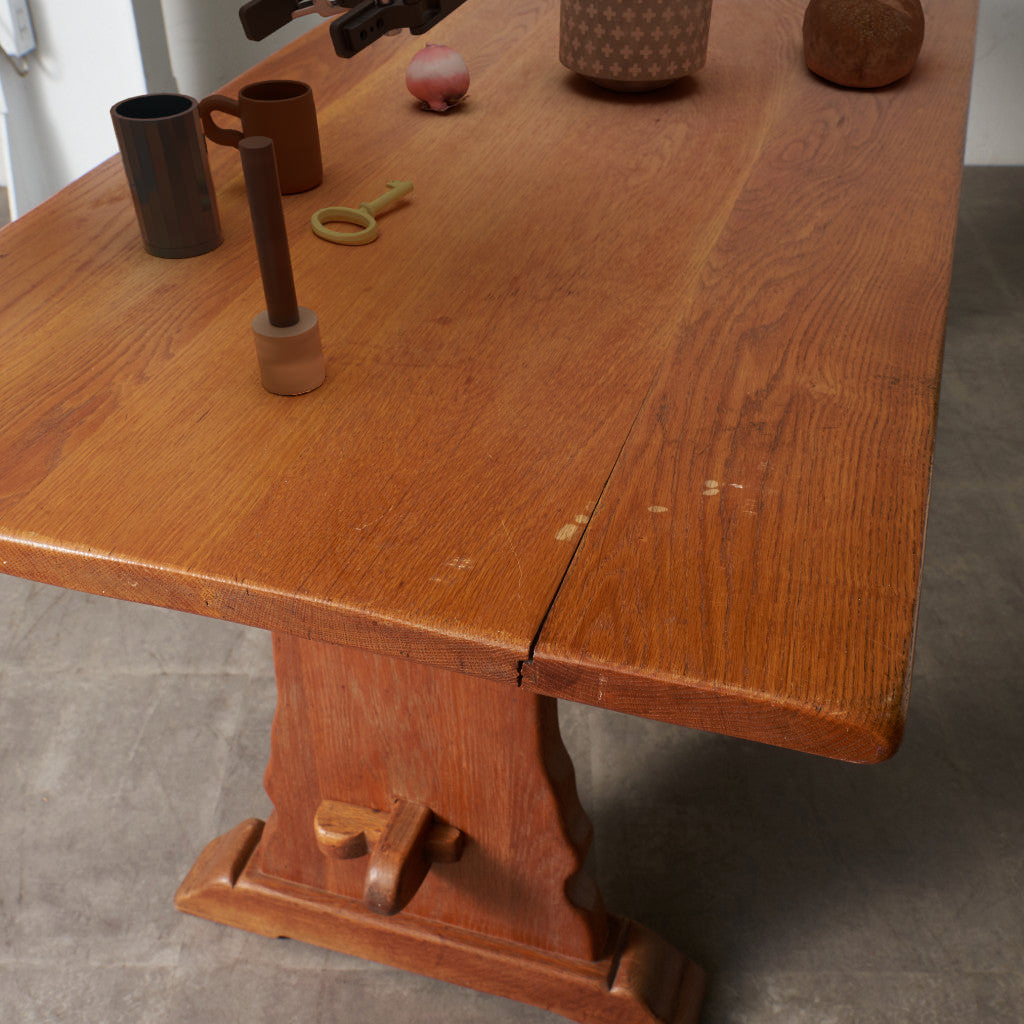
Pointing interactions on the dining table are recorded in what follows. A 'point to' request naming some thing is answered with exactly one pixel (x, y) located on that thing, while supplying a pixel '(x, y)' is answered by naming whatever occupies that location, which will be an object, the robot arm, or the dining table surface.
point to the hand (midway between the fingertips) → (289, 35)
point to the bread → (863, 40)
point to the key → (359, 216)
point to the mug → (273, 127)
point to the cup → (168, 173)
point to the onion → (438, 76)
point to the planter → (634, 41)
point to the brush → (278, 283)
